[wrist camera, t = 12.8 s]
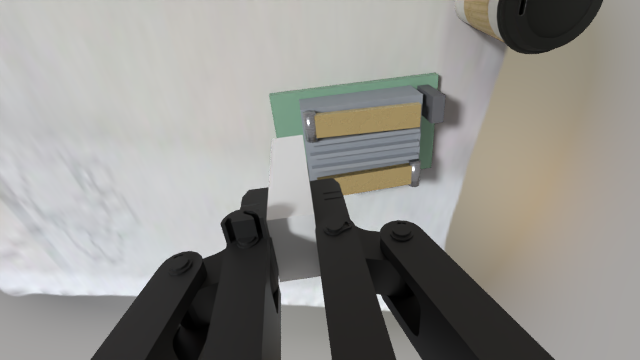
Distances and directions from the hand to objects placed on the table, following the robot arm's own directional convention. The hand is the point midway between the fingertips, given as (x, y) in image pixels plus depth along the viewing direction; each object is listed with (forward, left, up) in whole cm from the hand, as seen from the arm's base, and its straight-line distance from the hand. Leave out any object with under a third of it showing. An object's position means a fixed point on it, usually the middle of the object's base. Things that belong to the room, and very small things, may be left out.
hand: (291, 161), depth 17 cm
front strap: (+9, -8, -26) cm, 28 cm away
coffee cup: (+26, +4, -33) cm, 42 cm away
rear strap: (+9, -17, -26) cm, 32 cm away
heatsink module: (+9, -12, -32) cm, 36 cm away
